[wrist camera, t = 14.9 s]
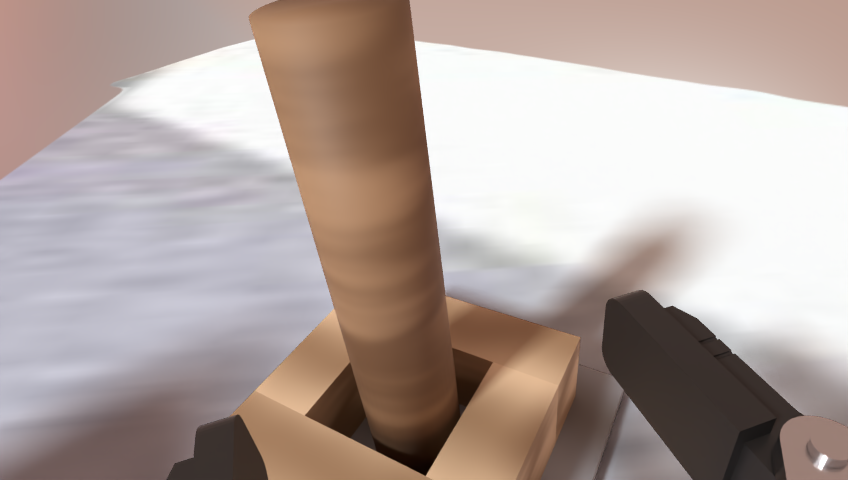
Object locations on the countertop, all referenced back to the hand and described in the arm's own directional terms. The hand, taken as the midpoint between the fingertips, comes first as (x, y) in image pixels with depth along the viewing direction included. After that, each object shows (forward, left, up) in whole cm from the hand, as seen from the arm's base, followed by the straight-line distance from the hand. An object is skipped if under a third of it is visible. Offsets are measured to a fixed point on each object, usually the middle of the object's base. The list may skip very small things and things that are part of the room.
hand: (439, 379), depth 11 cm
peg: (+5, +5, -14) cm, 15 cm away
